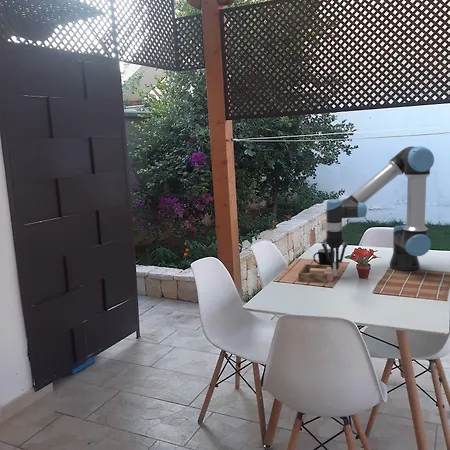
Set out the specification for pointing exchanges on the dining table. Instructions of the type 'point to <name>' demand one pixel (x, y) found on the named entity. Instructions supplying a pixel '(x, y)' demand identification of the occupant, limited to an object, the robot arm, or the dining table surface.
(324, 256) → the mug
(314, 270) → the block
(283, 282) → the dining table surface
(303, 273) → the pocket
